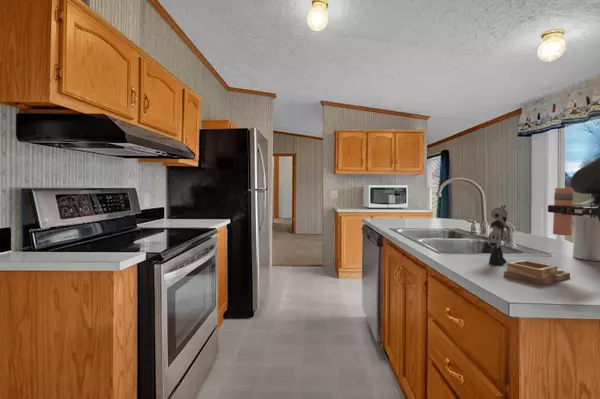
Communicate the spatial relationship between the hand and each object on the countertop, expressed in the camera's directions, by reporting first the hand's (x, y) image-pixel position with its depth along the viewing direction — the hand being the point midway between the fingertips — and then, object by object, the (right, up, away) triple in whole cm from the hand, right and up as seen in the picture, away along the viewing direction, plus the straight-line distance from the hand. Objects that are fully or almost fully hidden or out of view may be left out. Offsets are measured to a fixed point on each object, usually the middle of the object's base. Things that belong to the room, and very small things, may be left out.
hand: (552, 208), depth 107 cm
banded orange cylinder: (+1, -8, -2) cm, 8 cm away
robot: (-10, -19, +12) cm, 25 cm away
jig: (-9, -20, -5) cm, 22 cm away
